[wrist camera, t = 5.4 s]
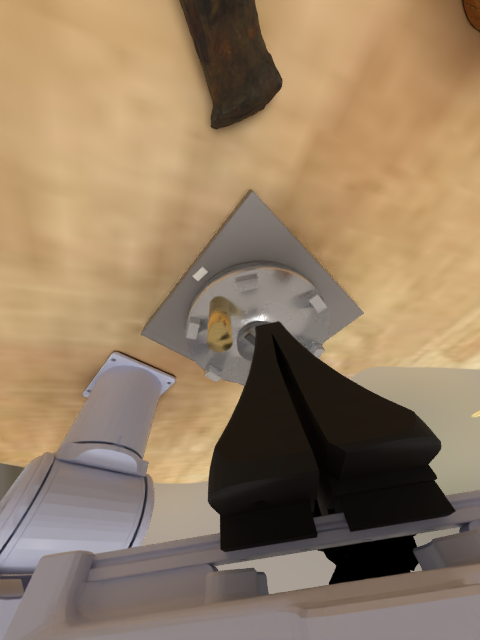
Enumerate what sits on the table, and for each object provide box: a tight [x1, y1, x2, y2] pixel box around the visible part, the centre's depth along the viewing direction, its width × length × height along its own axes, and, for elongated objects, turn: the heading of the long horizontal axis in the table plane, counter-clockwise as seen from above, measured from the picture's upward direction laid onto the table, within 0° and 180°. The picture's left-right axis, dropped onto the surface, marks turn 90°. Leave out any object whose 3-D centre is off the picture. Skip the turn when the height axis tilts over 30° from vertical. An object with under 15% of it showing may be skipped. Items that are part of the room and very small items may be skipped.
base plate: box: [141, 190, 364, 386], centre depth 21 cm, size 16×16×2 cm
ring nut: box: [185, 261, 329, 384], centre depth 18 cm, size 13×13×6 cm
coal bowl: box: [314, 500, 419, 585], centre depth 28 cm, size 20×20×19 cm
